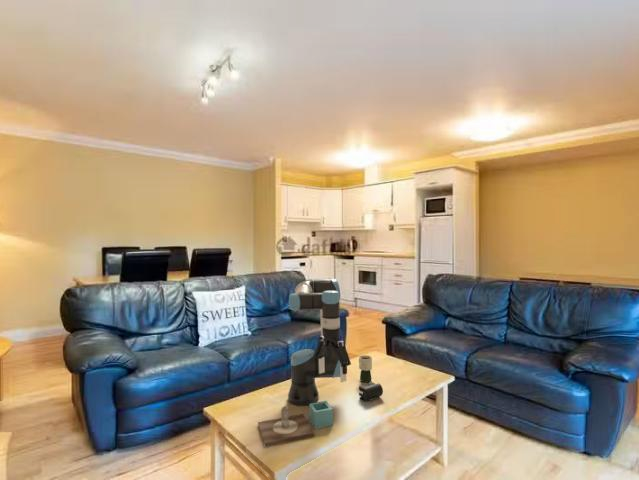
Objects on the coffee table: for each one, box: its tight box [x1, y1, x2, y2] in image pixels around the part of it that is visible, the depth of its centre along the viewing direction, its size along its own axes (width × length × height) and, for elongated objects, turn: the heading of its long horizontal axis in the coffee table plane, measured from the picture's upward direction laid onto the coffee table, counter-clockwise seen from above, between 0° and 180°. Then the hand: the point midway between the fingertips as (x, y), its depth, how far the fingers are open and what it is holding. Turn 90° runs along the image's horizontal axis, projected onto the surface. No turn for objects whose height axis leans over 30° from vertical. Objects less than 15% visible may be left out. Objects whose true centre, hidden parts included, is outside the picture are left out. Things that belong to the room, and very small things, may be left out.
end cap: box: [358, 381, 384, 403], centre depth 175 cm, size 10×7×7 cm
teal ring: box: [308, 400, 334, 430], centre depth 154 cm, size 8×8×7 cm
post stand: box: [257, 406, 315, 447], centre depth 148 cm, size 16×20×10 cm
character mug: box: [358, 354, 373, 383], centre depth 196 cm, size 11×7×13 cm, turn 137°
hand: (332, 377), depth 152 cm, fingers open, 13 cm apart
